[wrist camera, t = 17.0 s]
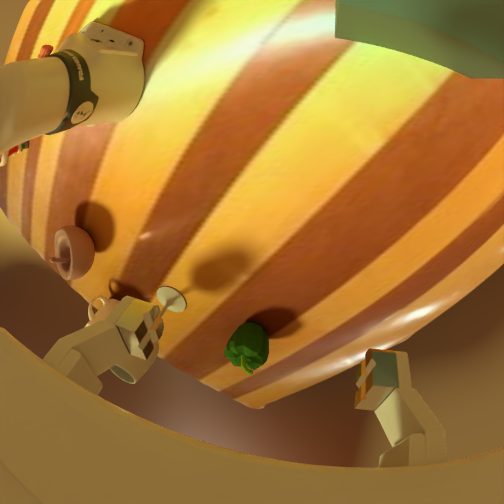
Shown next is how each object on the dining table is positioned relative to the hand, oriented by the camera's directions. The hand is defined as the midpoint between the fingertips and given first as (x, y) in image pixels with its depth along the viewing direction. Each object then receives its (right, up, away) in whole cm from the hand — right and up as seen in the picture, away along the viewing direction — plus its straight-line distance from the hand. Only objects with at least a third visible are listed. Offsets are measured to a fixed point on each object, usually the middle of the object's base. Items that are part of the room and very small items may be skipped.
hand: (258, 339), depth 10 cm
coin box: (+20, +37, +8) cm, 43 cm away
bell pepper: (0, -13, +46) cm, 48 cm away
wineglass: (-18, -7, +48) cm, 52 cm away
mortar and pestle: (-39, +6, +46) cm, 61 cm away
